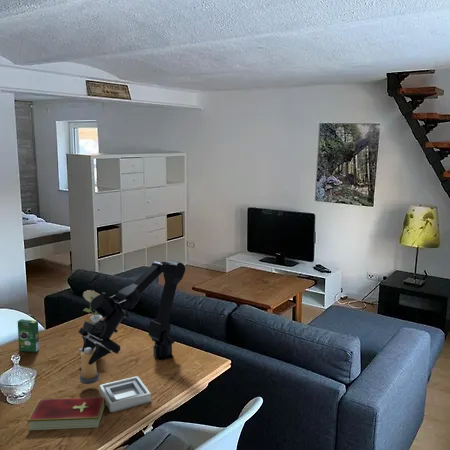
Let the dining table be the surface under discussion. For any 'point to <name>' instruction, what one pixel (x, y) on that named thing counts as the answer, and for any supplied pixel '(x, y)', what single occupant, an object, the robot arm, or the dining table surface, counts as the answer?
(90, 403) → the hardcover book
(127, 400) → the box
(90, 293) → the flower in vase
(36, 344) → the coffee box
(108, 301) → the robot arm
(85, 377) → the beige bottle
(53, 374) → the dining table surface
